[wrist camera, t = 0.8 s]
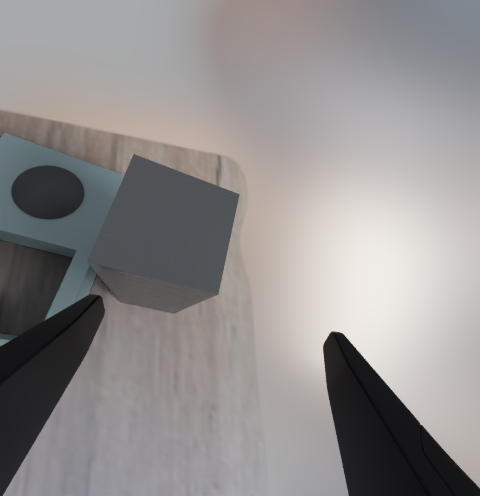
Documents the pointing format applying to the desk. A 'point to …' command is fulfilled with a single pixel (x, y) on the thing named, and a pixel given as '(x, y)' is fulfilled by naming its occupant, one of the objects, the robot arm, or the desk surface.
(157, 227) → the square bit
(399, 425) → the robot arm
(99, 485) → the desk surface
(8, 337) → the socket block
